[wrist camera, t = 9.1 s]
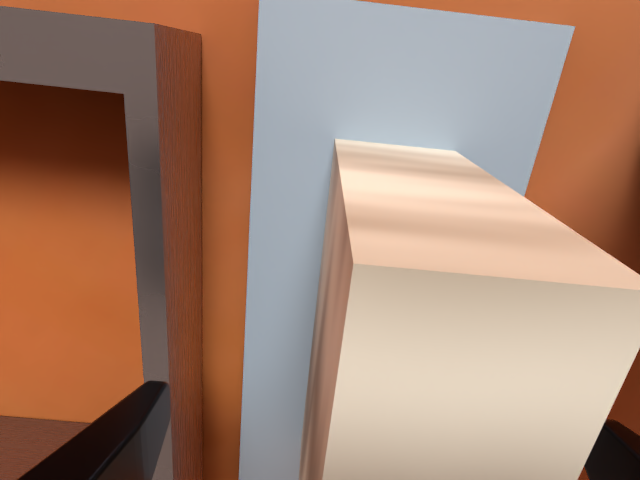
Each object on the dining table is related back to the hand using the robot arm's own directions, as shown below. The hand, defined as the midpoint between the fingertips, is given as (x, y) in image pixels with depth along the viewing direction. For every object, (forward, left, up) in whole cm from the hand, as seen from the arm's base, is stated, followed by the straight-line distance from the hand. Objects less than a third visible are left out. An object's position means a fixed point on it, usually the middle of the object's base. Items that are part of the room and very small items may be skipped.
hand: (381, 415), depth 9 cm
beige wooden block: (0, 0, -4) cm, 4 cm away
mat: (0, 0, -4) cm, 4 cm away
